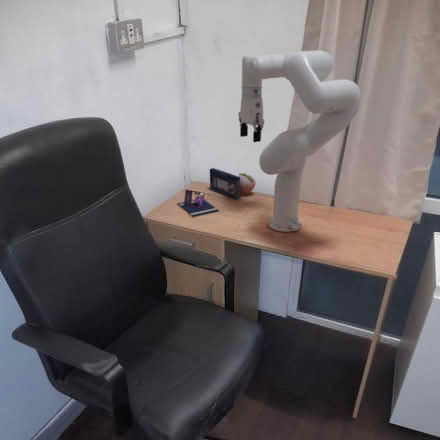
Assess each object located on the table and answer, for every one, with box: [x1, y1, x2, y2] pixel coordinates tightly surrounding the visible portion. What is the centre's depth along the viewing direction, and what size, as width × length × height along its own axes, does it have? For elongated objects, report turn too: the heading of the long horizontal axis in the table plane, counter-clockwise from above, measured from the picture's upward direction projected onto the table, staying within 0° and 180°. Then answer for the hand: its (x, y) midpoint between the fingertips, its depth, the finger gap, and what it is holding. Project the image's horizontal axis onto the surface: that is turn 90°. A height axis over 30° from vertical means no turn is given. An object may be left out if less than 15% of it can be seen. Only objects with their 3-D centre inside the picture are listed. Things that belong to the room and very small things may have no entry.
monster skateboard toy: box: [183, 189, 205, 209], centre depth 181 cm, size 7×5×9 cm
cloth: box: [177, 198, 219, 218], centre depth 181 cm, size 16×12×1 cm
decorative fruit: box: [238, 172, 256, 195], centre depth 191 cm, size 9×8×10 cm
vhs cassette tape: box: [209, 167, 241, 200], centre depth 192 cm, size 18×3×10 cm, turn 40°
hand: (250, 138), depth 166 cm, fingers open, 9 cm apart
